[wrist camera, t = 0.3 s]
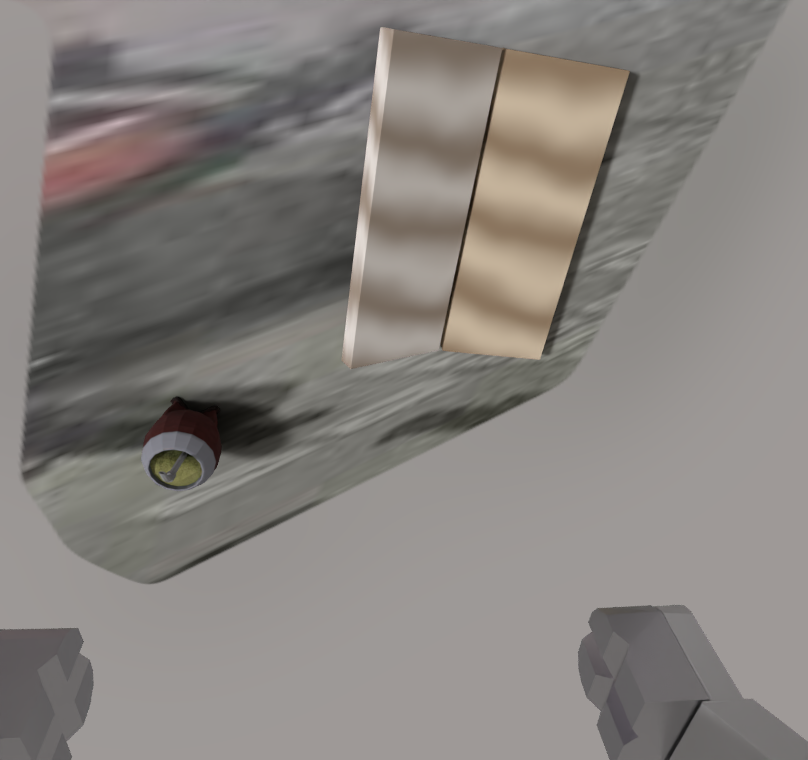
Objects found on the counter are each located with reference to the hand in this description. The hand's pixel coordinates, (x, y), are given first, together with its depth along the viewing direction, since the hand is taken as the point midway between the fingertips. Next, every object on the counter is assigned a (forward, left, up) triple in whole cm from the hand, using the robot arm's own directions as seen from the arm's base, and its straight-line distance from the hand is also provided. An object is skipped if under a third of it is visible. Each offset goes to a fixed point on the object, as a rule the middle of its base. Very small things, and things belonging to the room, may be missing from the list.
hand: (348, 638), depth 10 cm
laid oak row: (+5, +17, -46) cm, 49 cm away
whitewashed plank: (+5, +6, -43) cm, 44 cm away
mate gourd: (+29, -12, -46) cm, 56 cm away
